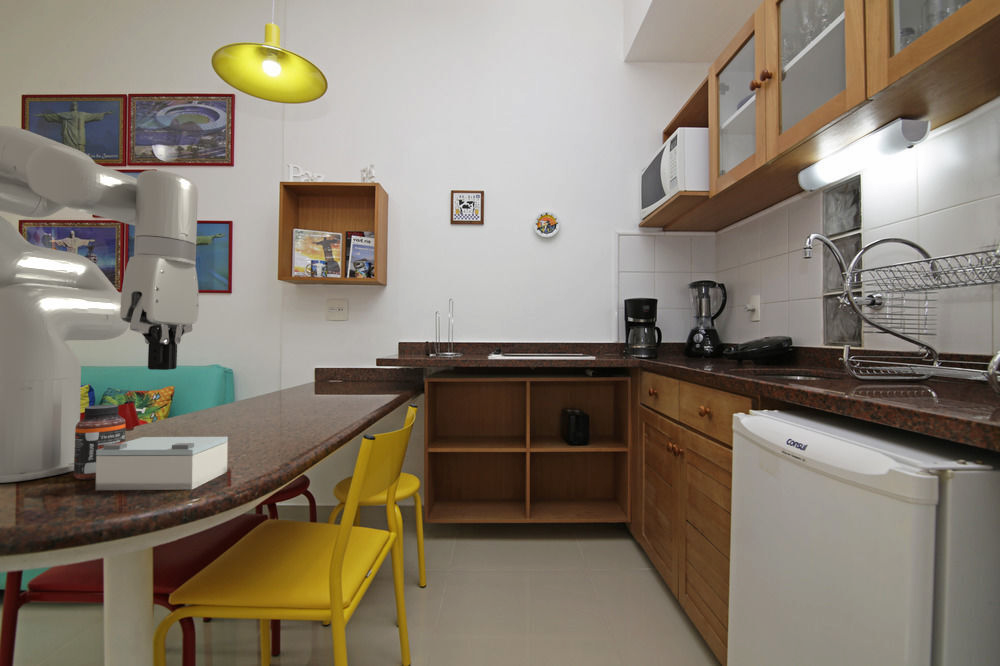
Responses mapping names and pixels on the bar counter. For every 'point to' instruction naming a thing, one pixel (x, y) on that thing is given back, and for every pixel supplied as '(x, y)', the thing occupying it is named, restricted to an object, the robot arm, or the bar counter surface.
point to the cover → (162, 446)
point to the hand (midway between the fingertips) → (162, 369)
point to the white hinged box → (160, 470)
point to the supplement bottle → (96, 437)
